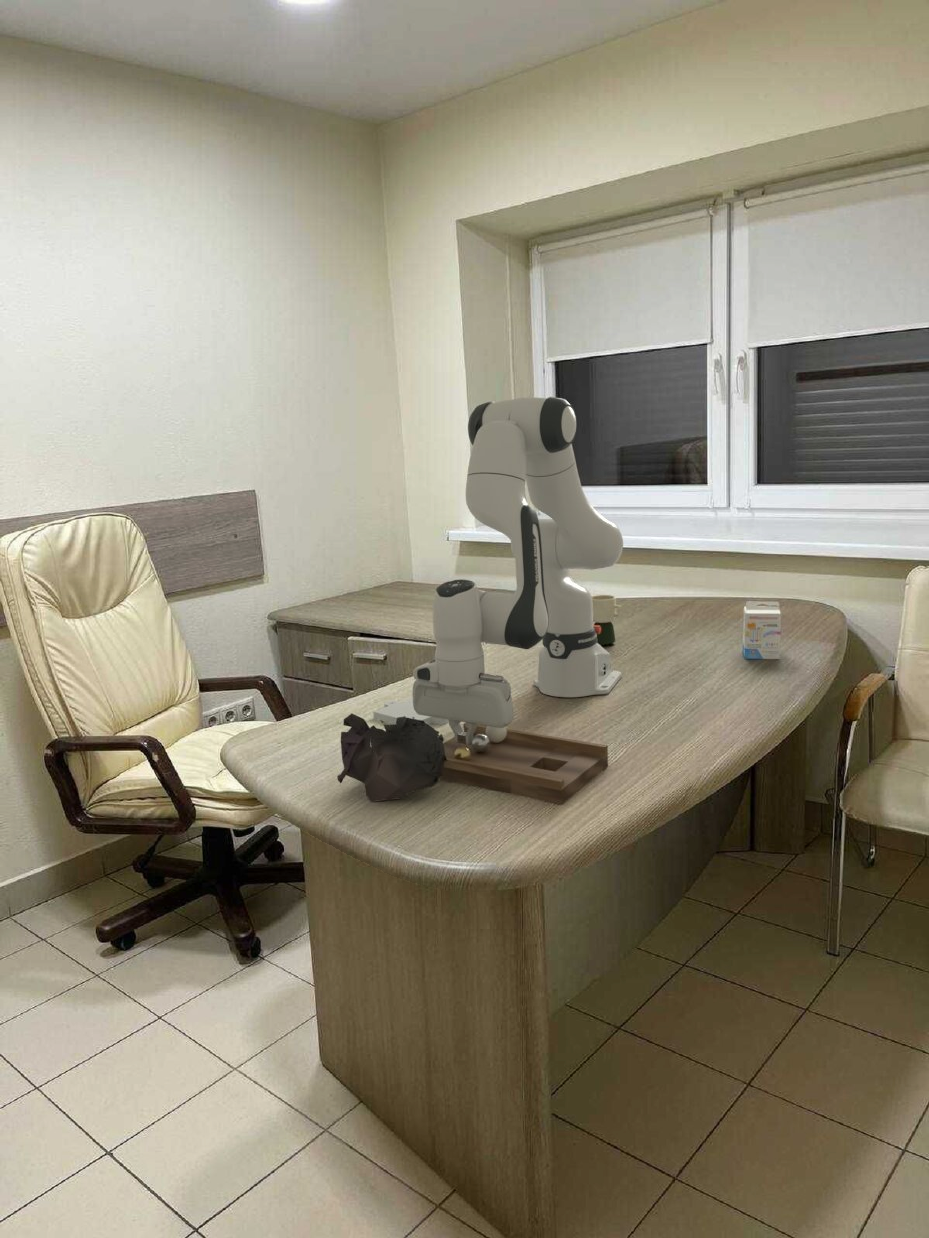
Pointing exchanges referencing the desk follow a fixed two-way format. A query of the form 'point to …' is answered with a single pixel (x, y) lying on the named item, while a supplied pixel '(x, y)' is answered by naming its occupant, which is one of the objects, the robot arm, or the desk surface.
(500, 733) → the cream ball
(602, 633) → the character mug
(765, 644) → the ink box
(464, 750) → the brass ball
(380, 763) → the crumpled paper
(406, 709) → the mounting plate
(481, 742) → the steel ball
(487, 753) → the board
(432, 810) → the desk surface
